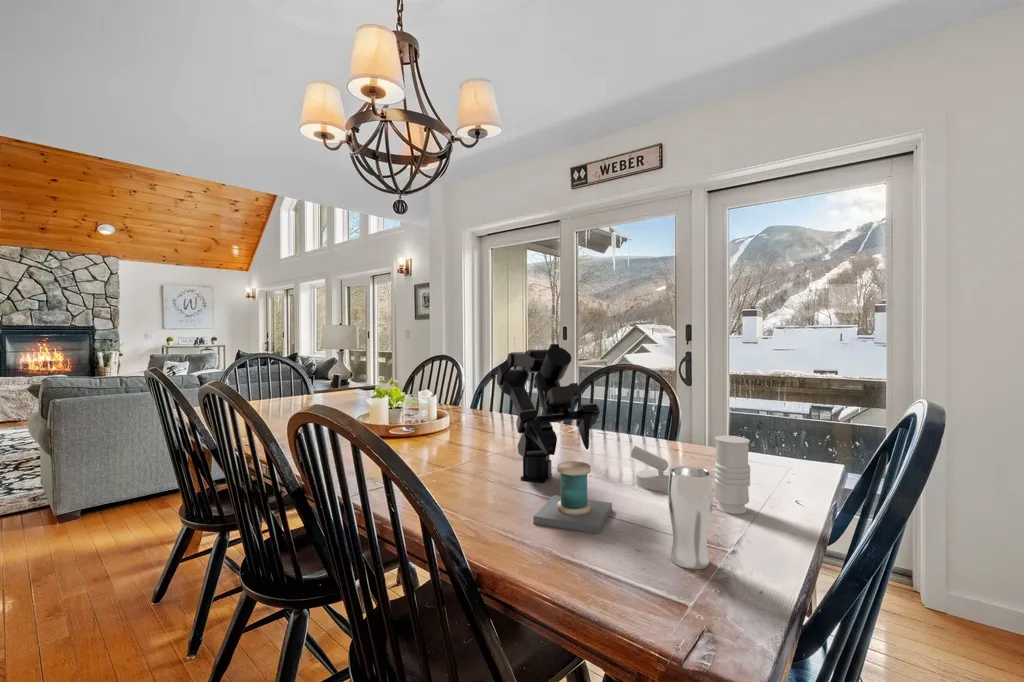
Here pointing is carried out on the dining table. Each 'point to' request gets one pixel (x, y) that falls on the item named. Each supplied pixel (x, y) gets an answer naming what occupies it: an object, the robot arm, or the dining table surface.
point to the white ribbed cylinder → (732, 474)
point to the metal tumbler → (690, 515)
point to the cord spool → (574, 488)
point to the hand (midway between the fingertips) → (567, 451)
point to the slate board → (574, 516)
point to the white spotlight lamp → (651, 477)
